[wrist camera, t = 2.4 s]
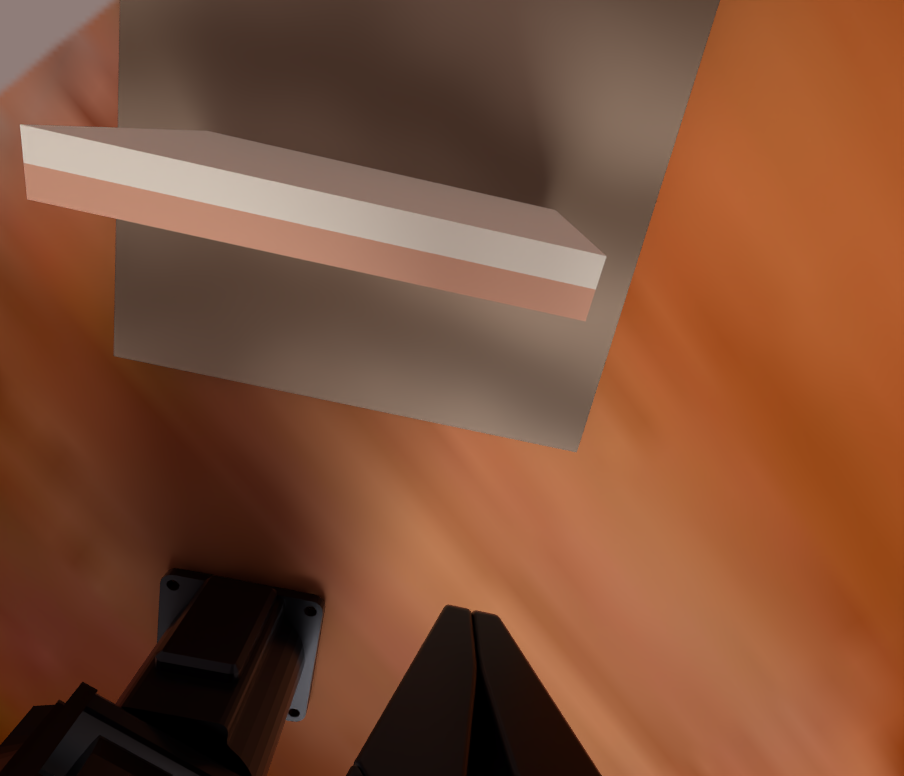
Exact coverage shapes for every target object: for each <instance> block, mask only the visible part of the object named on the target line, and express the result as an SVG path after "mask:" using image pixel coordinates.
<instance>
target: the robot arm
mask: <svg viewBox="0 0 904 776" xmlns="http://www.w3.org/2000/svg"><path fill="white" fill-rule="evenodd" d="M172 580H175V581H177V582H178V583H179V584H176V583H174V582H173V581H172ZM308 606H312V607H314V608H315V609H316V610H312V609H309V608H308ZM324 611H325V602H324V601H323V599H322V598H321V597H319V596H317V595H314V594H308V593H303V592H298V591H293V590H287V589H282V588H277V587H272V586H267V585H261V584H256V583H251V582H246V581H241V580H235V579H230V578H225V577H220V576H214V575H209V574H204V573H199V572H194V571H188V570H183V569H175V568H174V569H171V570H169V571H168V572H167V573H166V574H165V575H164V577H163V578H162V579H161V582H160V598H159V617H158V636H157V644H156V646H155V647H154V649H153V650H152V652H151V653H150V654H149V656H148V657H147V659H146V660H145V662H144V663H143V665H142V666H141V667H140V669H139V670H138V672H137V673H136V675H135V676H134V678H133V679H132V680H131V682H130V683H129V685H128V686H127V688H126V689H125V691H124V692H123V693H122V695H121V696H120V698H119V699H118V701H117V702H116V704H114V703H112V702H110V701H109V700H107V699H105V698H103V697H102V696H100V695H98V694H96V692H97V691H98V690H97V689H95V688H93V687H91V686H89V685H88V684H86V683H84V682H82V683H81V684H80V686H79V687H78V688H77V689H76V691H75V692H74V693H73V694H72V696H71V697H70V698H69V699H68V701H67V702H66V703H64V702H62V701H61V700H58V702H57V703H56V704H55V705H44V706H33V707H32V709H31V710H30V711H29V712H28V713H27V714H26V716H25V717H24V718H23V719H22V720H21V722H20V723H19V724H18V725H17V726H16V727H15V729H14V730H13V731H12V732H11V733H10V735H9V736H8V737H7V738H6V739H5V740H4V742H3V743H2V744H1V745H0V776H267V773H268V770H269V767H270V764H271V761H272V758H273V755H274V752H275V750H276V747H277V744H278V741H279V738H280V735H281V732H282V729H283V726H284V723H285V721H286V720H288V721H296V722H297V721H301V720H302V719H303V718H304V717H305V715H306V712H307V708H308V704H309V698H310V692H311V686H312V680H313V675H314V669H315V663H316V657H317V651H318V645H319V640H320V634H321V628H322V622H323V616H324ZM294 708H295V709H294ZM346 776H602V775H601V774H600V772H599V771H598V769H597V768H596V766H595V765H594V763H593V761H592V760H591V758H590V757H589V755H588V754H587V752H586V751H585V749H584V747H583V746H582V744H581V743H580V741H579V740H578V738H577V737H576V735H575V734H574V732H573V730H572V729H571V727H570V726H569V724H568V723H567V721H566V720H565V718H564V717H563V715H562V713H561V712H560V710H559V709H558V707H557V706H556V704H555V703H554V701H553V699H552V698H551V696H550V695H549V693H548V692H547V690H546V689H545V687H544V686H543V684H542V682H541V681H540V679H539V678H538V676H537V675H536V673H535V672H534V670H533V669H532V667H531V665H530V664H529V662H528V661H527V659H526V658H525V656H524V655H523V653H522V651H521V650H520V648H519V647H518V645H517V644H516V642H515V641H514V639H513V638H512V636H511V634H510V633H509V631H508V630H507V628H506V627H505V625H504V624H503V622H502V621H501V619H500V618H499V617H498V616H497V615H495V614H491V613H486V612H481V611H473V612H472V613H471V611H470V610H469V609H467V608H462V607H458V606H453V605H446V606H445V607H444V608H443V610H442V612H441V613H440V615H439V617H438V619H437V620H436V622H435V624H434V625H433V627H432V629H431V631H430V632H429V634H428V636H427V638H426V639H425V641H424V643H423V644H422V646H421V648H420V650H419V651H418V653H417V655H416V656H415V658H414V660H413V662H412V663H411V665H410V667H409V669H408V670H407V672H406V674H405V675H404V677H403V679H402V681H401V682H400V684H399V686H398V687H397V689H396V691H395V693H394V694H393V696H392V698H391V700H390V701H389V703H388V705H387V706H386V708H385V710H384V712H383V713H382V715H381V717H380V719H379V720H378V722H377V724H376V725H375V727H374V729H373V731H372V732H371V734H370V736H369V737H368V739H367V741H366V743H365V744H364V746H363V748H362V750H361V751H360V753H359V755H358V756H357V758H356V760H355V762H354V765H353V766H351V768H350V769H349V771H348V773H347V775H346Z"/></svg>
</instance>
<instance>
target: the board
mask: <svg viewBox="0 0 904 776" xmlns="http://www.w3.org/2000/svg"><path fill="white" fill-rule="evenodd" d="M719 2H720V0H120V27H119V84H118V128H141V129H170V130H199V131H210V132H215V133H219V134H224V135H228V136H232V137H237V138H241V139H246V140H250V141H254V142H259V143H263V144H267V145H272V146H276V147H281V148H285V149H289V150H294V151H298V152H303V153H307V154H311V155H316V156H320V157H325V158H329V159H333V160H338V161H342V162H347V163H351V164H355V165H360V166H364V167H368V168H373V169H377V170H382V171H386V172H390V173H395V174H399V175H404V176H408V177H412V178H417V179H421V180H426V181H430V182H434V183H439V184H443V185H448V186H452V187H456V188H461V189H465V190H470V191H474V192H478V193H483V194H487V195H491V196H496V197H500V198H505V199H509V200H513V201H518V202H522V203H527V204H531V205H535V206H540V207H544V208H549V209H553V210H556V211H557V212H558V213H559V214H560V215H562V216H563V217H564V218H565V219H566V220H567V221H568V222H569V223H570V224H571V225H573V226H574V227H575V228H576V229H577V230H578V231H579V232H580V233H581V234H583V235H584V236H585V237H586V238H587V239H588V240H589V241H590V242H591V243H593V244H594V245H595V246H596V247H597V248H598V249H599V250H600V251H601V252H602V253H604V254H605V255H606V259H605V263H604V266H603V269H602V272H601V275H600V278H599V281H598V284H597V287H596V291H595V294H594V297H593V300H592V303H591V306H590V309H589V312H588V315H587V318H586V322H585V321H581V320H576V319H572V318H567V317H563V316H558V315H554V314H549V313H544V312H540V311H535V310H531V309H526V308H522V307H517V306H512V305H508V304H503V303H499V302H494V301H490V300H485V299H480V298H476V297H471V296H467V295H462V294H458V293H453V292H448V291H444V290H439V289H435V288H430V287H426V286H421V285H416V284H412V283H407V282H403V281H398V280H394V279H389V278H385V277H380V276H375V275H371V274H366V273H362V272H357V271H353V270H348V269H343V268H339V267H334V266H330V265H325V264H321V263H316V262H311V261H307V260H302V259H298V258H293V257H289V256H284V255H279V254H275V253H270V252H266V251H261V250H257V249H252V248H248V247H243V246H238V245H234V244H229V243H225V242H220V241H216V240H211V239H206V238H202V237H197V236H193V235H188V234H184V233H179V232H174V231H170V230H165V229H161V228H156V227H152V226H147V225H142V224H138V223H133V222H129V221H124V220H120V219H116V255H115V312H114V356H116V357H121V358H126V359H130V360H135V361H140V362H145V363H150V364H154V365H159V366H164V367H169V368H174V369H178V370H183V371H188V372H193V373H198V374H202V375H207V376H212V377H217V378H222V379H227V380H231V381H236V382H241V383H246V384H251V385H255V386H260V387H265V388H270V389H275V390H279V391H284V392H289V393H294V394H299V395H304V396H308V397H313V398H318V399H323V400H328V401H332V402H337V403H342V404H347V405H352V406H356V407H361V408H366V409H371V410H376V411H380V412H385V413H390V414H395V415H400V416H405V417H409V418H414V419H419V420H424V421H429V422H433V423H438V424H443V425H448V426H453V427H457V428H462V429H467V430H472V431H477V432H481V433H486V434H491V435H496V436H501V437H506V438H510V439H515V440H520V441H525V442H530V443H534V444H539V445H544V446H549V447H554V448H558V449H563V450H568V451H573V452H577V450H578V447H579V443H580V440H581V437H582V434H583V431H584V428H585V424H586V421H587V418H588V415H589V412H590V409H591V405H592V402H593V399H594V396H595V393H596V390H597V387H598V383H599V380H600V377H601V374H602V371H603V368H604V364H605V361H606V358H607V355H608V352H609V349H610V346H611V342H612V339H613V336H614V333H615V330H616V327H617V323H618V320H619V317H620V314H621V311H622V308H623V305H624V301H625V298H626V295H627V292H628V289H629V286H630V282H631V279H632V276H633V273H634V270H635V267H636V264H637V260H638V257H639V254H640V251H641V248H642V245H643V241H644V238H645V235H646V232H647V229H648V226H649V222H650V219H651V216H652V213H653V210H654V207H655V204H656V200H657V197H658V194H659V191H660V188H661V185H662V181H663V178H664V175H665V172H666V169H667V166H668V163H669V159H670V156H671V153H672V150H673V147H674V144H675V140H676V137H677V134H678V131H679V128H680V125H681V122H682V118H683V115H684V112H685V109H686V106H687V103H688V99H689V96H690V93H691V90H692V87H693V84H694V81H695V77H696V74H697V71H698V68H699V65H700V62H701V58H702V55H703V52H704V49H705V46H706V43H707V39H708V36H709V33H710V30H711V27H712V24H713V21H714V17H715V14H716V11H717V8H718V5H719Z"/></svg>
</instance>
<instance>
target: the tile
mask: <svg viewBox="0 0 904 776" xmlns="http://www.w3.org/2000/svg"><path fill="white" fill-rule="evenodd" d="M20 130H21V140H22V151H23V161H24V172H25V183H26V193H27V199H28V200H33V201H37V202H42V203H47V204H51V205H56V206H60V207H65V208H69V209H74V210H79V211H83V212H88V213H92V214H97V215H101V216H106V217H110V218H115V219H120V220H124V221H129V222H133V223H138V224H142V225H147V226H152V227H156V228H161V229H165V230H170V231H174V232H179V233H184V234H188V235H193V236H197V237H202V238H206V239H211V240H216V241H220V242H225V243H229V244H234V245H238V246H243V247H248V248H252V249H257V250H261V251H266V252H270V253H275V254H279V255H284V256H289V257H293V258H298V259H302V260H307V261H311V262H316V263H321V264H325V265H330V266H334V267H339V268H343V269H348V270H353V271H357V272H362V273H366V274H371V275H375V276H380V277H385V278H389V279H394V280H398V281H403V282H407V283H412V284H416V285H421V286H426V287H430V288H435V289H439V290H444V291H448V292H453V293H458V294H462V295H467V296H471V297H476V298H480V299H485V300H490V301H494V302H499V303H503V304H508V305H512V306H517V307H522V308H526V309H531V310H535V311H540V312H544V313H549V314H554V315H558V316H563V317H567V318H572V319H576V320H581V321H585V322H586V318H587V315H588V312H589V309H590V306H591V303H592V300H593V297H594V294H595V291H596V287H597V284H598V281H599V278H600V275H601V272H602V269H603V266H604V263H605V259H606V255H605V254H604V253H602V252H601V251H600V250H599V249H598V248H597V247H596V246H595V245H594V244H593V243H591V242H590V241H589V240H588V239H587V238H586V237H585V236H584V235H583V234H581V233H580V232H579V231H578V230H577V229H576V228H575V227H574V226H573V225H571V224H570V223H569V222H568V221H567V220H566V219H565V218H564V217H563V216H562V215H560V214H559V213H558V212H557V211H556V210H553V209H549V208H544V207H540V206H535V205H531V204H527V203H522V202H518V201H513V200H509V199H505V198H500V197H496V196H491V195H487V194H483V193H478V192H474V191H470V190H465V189H461V188H456V187H452V186H448V185H443V184H439V183H434V182H430V181H426V180H421V179H417V178H412V177H408V176H404V175H399V174H395V173H390V172H386V171H382V170H377V169H373V168H368V167H364V166H360V165H355V164H351V163H347V162H342V161H338V160H333V159H329V158H325V157H320V156H316V155H311V154H307V153H303V152H298V151H294V150H289V149H285V148H281V147H276V146H272V145H267V144H263V143H259V142H254V141H250V140H246V139H241V138H237V137H232V136H228V135H224V134H219V133H215V132H210V131H199V130H170V129H141V128H112V127H83V126H54V125H25V124H20Z"/></svg>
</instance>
